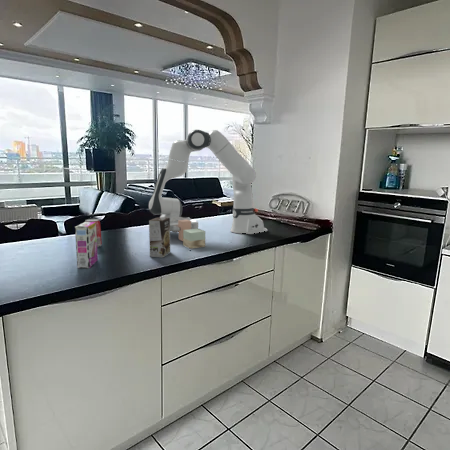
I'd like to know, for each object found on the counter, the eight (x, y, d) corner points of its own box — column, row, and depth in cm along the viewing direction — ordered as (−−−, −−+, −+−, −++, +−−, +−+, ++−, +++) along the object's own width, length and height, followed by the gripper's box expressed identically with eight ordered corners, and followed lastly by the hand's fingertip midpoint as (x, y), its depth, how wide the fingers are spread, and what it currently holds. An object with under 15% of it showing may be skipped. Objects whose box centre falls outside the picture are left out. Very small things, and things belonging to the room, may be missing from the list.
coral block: (187, 238, 178) (187, 219, 176) (191, 240, 174) (191, 221, 172) (178, 239, 175) (178, 220, 173) (182, 241, 171) (182, 221, 169)
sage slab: (197, 236, 169) (197, 228, 168) (205, 239, 162) (205, 231, 162) (183, 237, 165) (183, 229, 164) (190, 241, 158) (190, 232, 158)
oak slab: (197, 243, 170) (197, 236, 169) (205, 247, 163) (205, 239, 162) (183, 245, 166) (183, 237, 165) (190, 249, 159) (190, 241, 158)
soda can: (105, 245, 164) (103, 219, 161) (94, 248, 157) (93, 221, 155) (93, 244, 166) (91, 218, 163) (82, 247, 159) (80, 220, 157)
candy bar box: (90, 268, 128) (87, 226, 125) (77, 268, 128) (73, 226, 125) (98, 260, 139) (96, 221, 136) (86, 260, 139) (83, 221, 136)
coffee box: (163, 257, 143) (162, 220, 140) (149, 256, 145) (148, 220, 142) (171, 252, 152) (170, 217, 149) (157, 251, 153) (156, 216, 150)
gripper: (156, 220, 178) (166, 224, 167) (191, 217, 189) (202, 220, 177) (157, 231, 180) (166, 236, 168) (191, 228, 190) (203, 232, 178)
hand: (185, 228), depth 173 cm, fingers closed on coral block, 5 cm apart
